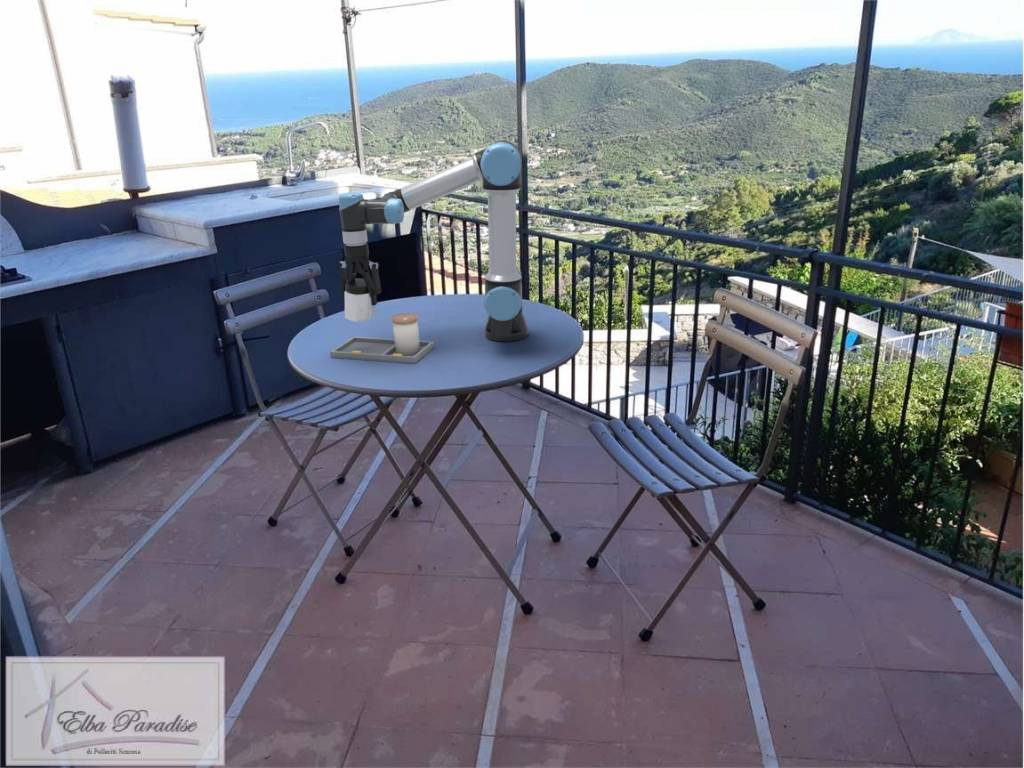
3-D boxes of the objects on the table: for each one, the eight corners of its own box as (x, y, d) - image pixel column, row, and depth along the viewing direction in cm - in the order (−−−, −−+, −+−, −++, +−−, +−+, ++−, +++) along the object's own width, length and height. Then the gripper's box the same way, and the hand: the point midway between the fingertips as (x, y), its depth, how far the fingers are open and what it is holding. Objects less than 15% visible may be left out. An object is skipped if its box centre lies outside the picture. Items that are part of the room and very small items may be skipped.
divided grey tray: (434, 347, 250) (433, 340, 249) (415, 363, 235) (414, 356, 234) (354, 342, 258) (353, 334, 257) (330, 357, 244) (329, 350, 243)
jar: (349, 323, 240) (348, 288, 234) (340, 314, 246) (340, 279, 240) (375, 320, 244) (375, 285, 239) (366, 310, 250) (366, 276, 245)
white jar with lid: (424, 349, 246) (421, 313, 242) (414, 357, 239) (411, 321, 235) (401, 347, 249) (398, 312, 244) (390, 355, 241) (387, 319, 237)
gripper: (388, 241, 236) (395, 312, 244) (335, 240, 241) (343, 309, 249) (377, 246, 229) (384, 319, 238) (323, 245, 234) (332, 316, 243)
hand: (363, 314), depth 243 cm, fingers closed on jar, 6 cm apart
